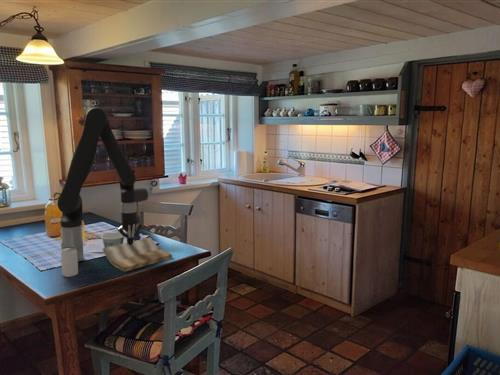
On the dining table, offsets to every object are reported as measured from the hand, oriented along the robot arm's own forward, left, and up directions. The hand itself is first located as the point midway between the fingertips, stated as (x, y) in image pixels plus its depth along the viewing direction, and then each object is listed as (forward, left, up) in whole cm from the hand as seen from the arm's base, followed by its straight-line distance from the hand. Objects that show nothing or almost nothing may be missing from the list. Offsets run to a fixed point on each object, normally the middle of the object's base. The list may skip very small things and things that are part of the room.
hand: (130, 244), depth 204 cm
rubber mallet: (+3, +22, -6) cm, 23 cm away
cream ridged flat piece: (+1, -1, -3) cm, 4 cm away
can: (-26, -19, -6) cm, 32 cm away
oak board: (+6, -10, -6) cm, 13 cm away
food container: (-9, +15, -6) cm, 18 cm away
